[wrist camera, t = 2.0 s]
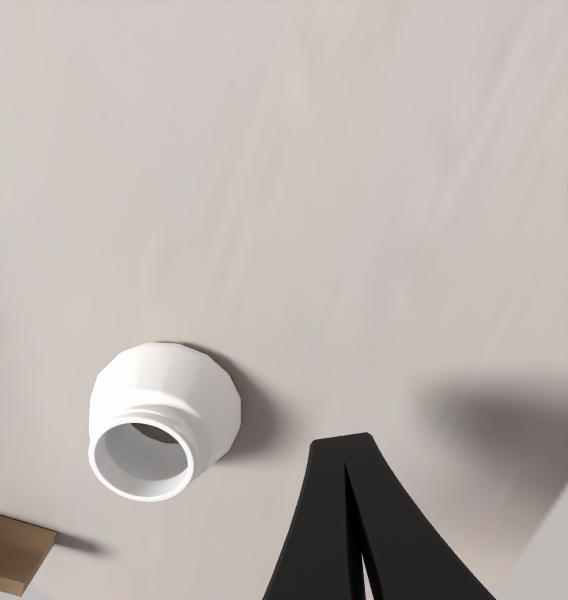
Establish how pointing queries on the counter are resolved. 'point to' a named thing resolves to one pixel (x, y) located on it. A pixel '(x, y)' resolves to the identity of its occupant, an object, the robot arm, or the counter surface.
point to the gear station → (21, 553)
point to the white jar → (160, 419)
